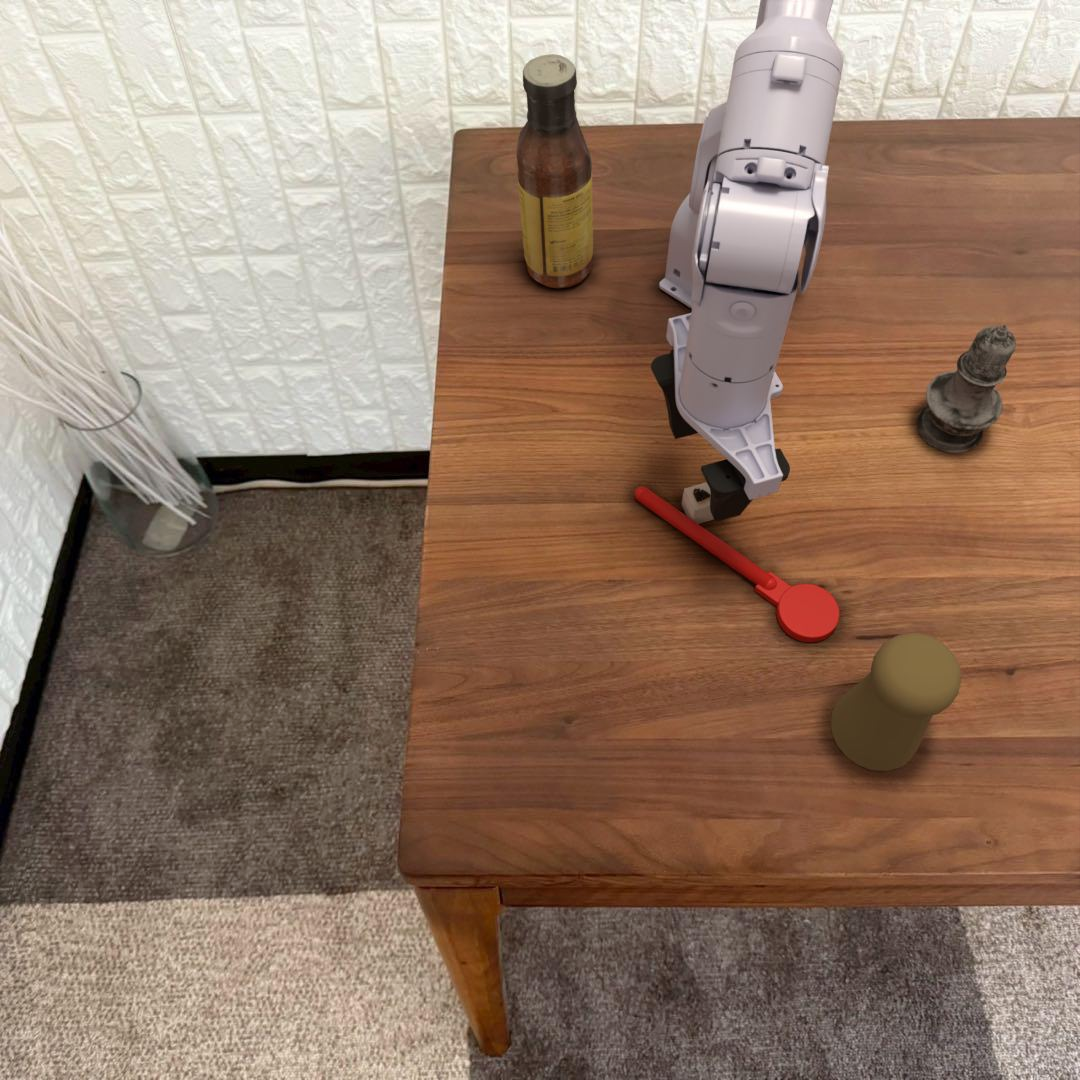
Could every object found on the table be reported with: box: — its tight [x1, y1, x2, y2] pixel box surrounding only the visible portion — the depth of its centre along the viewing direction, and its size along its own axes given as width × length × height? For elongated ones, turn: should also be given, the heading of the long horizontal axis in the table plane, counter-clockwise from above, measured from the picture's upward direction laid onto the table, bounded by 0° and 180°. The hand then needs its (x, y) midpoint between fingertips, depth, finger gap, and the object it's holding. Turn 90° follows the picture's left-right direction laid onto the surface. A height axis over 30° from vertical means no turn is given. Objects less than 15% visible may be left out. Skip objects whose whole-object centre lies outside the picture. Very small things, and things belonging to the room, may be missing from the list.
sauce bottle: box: [515, 53, 594, 289], centre depth 84 cm, size 6×6×20 cm
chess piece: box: [915, 324, 1017, 454], centre depth 78 cm, size 6×6×12 cm
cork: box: [830, 632, 963, 772], centre depth 65 cm, size 6×6×11 cm
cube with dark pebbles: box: [681, 481, 714, 525], centre depth 78 cm, size 2×2×2 cm
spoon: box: [634, 486, 840, 643], centre depth 76 cm, size 18×4×1 cm, turn 48°
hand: (705, 472), depth 74 cm, fingers open, 7 cm apart
